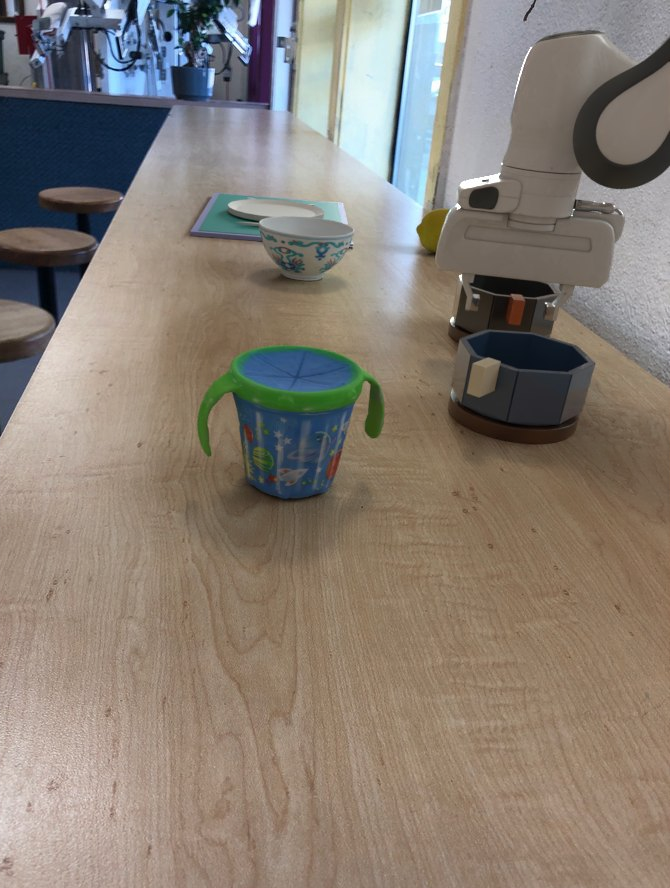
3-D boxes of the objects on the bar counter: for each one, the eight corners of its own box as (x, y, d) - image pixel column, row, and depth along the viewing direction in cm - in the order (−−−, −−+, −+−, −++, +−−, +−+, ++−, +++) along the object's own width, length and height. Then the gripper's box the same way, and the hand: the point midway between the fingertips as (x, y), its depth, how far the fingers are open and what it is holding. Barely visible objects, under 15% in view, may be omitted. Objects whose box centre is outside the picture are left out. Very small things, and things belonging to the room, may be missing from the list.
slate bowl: (493, 371, 89) (504, 319, 86) (597, 406, 82) (612, 351, 79) (414, 403, 79) (423, 346, 76) (525, 447, 72) (540, 386, 69)
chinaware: (368, 282, 126) (374, 232, 123) (295, 292, 118) (299, 239, 114) (308, 260, 136) (312, 214, 132) (238, 268, 128) (239, 219, 124)
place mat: (214, 196, 185) (214, 185, 184) (342, 206, 186) (343, 196, 185) (190, 235, 146) (190, 223, 145) (352, 248, 147) (354, 235, 146)
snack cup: (206, 519, 60) (209, 395, 55) (187, 456, 69) (188, 345, 64) (396, 506, 64) (415, 389, 59) (356, 448, 73) (369, 342, 68)
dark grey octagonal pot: (449, 308, 111) (457, 265, 108) (539, 317, 110) (549, 274, 107) (458, 343, 97) (467, 295, 94) (560, 353, 97) (572, 305, 94)
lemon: (414, 255, 146) (421, 210, 142) (410, 246, 153) (416, 202, 149) (472, 260, 146) (481, 215, 142) (465, 250, 153) (473, 207, 149)
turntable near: (567, 401, 87) (570, 388, 87) (584, 452, 76) (588, 438, 75) (447, 385, 89) (450, 372, 88) (447, 433, 77) (450, 419, 77)
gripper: (623, 200, 91) (592, 317, 98) (446, 182, 93) (428, 298, 100) (635, 209, 86) (601, 332, 92) (446, 190, 88) (427, 311, 95)
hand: (509, 314), depth 96 cm, fingers open, 8 cm apart
